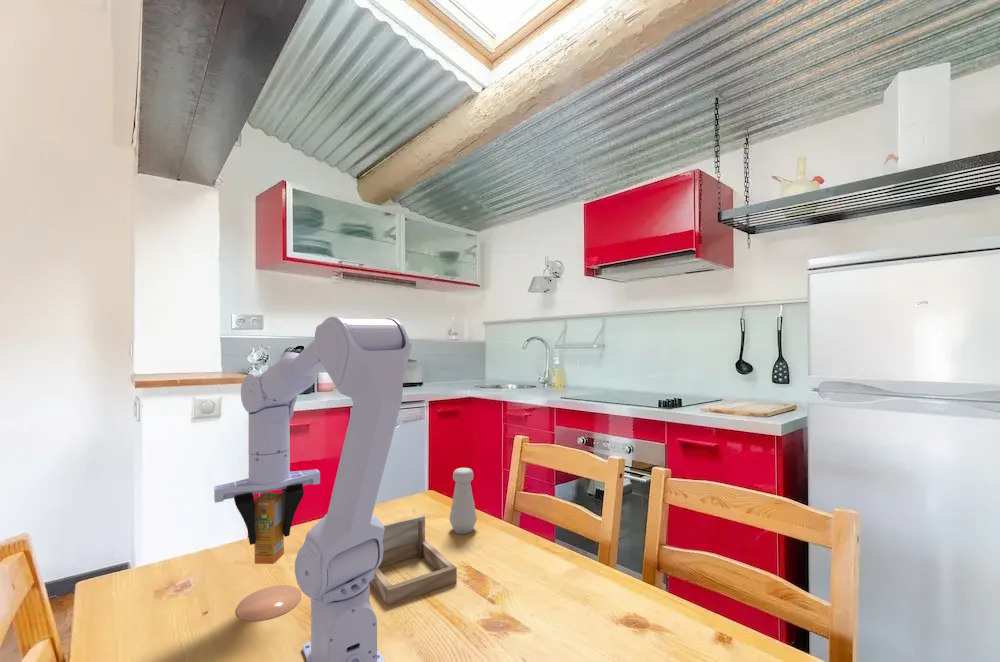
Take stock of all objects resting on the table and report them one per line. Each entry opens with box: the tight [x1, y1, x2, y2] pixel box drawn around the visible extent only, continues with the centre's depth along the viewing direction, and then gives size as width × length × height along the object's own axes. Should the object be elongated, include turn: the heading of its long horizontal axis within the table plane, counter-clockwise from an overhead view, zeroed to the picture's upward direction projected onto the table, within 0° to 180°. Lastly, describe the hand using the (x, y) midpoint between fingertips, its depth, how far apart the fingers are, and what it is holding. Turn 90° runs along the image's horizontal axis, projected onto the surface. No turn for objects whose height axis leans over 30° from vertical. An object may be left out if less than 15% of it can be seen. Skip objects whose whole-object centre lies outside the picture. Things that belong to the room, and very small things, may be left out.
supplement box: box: [253, 492, 285, 565], centre depth 71 cm, size 3×3×10 cm
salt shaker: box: [449, 467, 478, 535], centre depth 97 cm, size 6×6×13 cm
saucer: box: [235, 584, 302, 622], centre depth 70 cm, size 9×9×1 cm
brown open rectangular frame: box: [370, 515, 458, 607], centre depth 79 cm, size 13×12×7 cm
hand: (269, 537), depth 70 cm, fingers closed on supplement box, 4 cm apart
